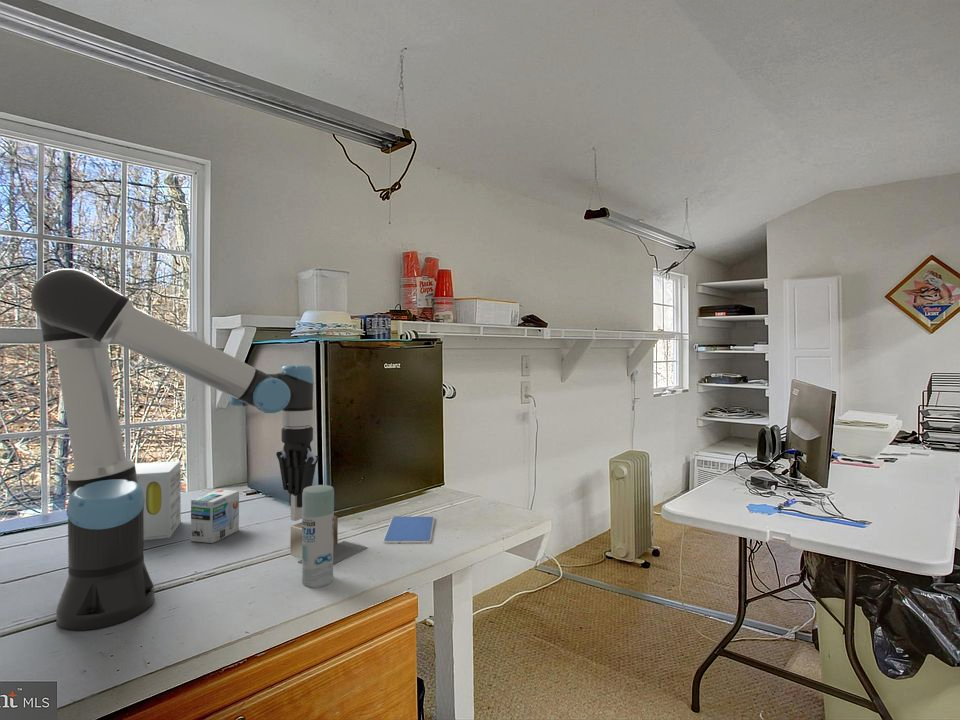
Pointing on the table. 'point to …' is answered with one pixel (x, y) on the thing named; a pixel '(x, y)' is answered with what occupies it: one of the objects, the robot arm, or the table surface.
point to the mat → (344, 551)
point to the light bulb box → (214, 516)
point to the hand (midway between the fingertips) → (297, 518)
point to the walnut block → (297, 538)
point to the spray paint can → (317, 535)
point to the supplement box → (160, 497)
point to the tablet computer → (409, 530)
